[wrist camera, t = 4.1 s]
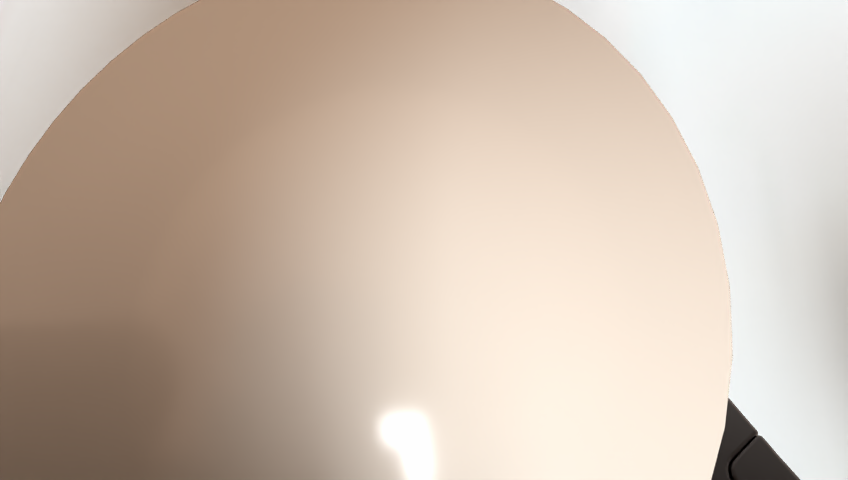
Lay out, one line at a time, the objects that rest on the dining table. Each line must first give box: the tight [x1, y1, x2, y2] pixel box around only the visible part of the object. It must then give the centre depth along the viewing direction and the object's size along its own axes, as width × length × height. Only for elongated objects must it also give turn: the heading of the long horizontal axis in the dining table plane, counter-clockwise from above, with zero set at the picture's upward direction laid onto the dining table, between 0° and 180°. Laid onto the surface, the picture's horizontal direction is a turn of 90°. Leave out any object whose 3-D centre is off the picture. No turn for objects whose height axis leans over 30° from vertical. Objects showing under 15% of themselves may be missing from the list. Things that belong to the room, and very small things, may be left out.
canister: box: [0, 0, 733, 480], centre depth 9 cm, size 5×5×13 cm
